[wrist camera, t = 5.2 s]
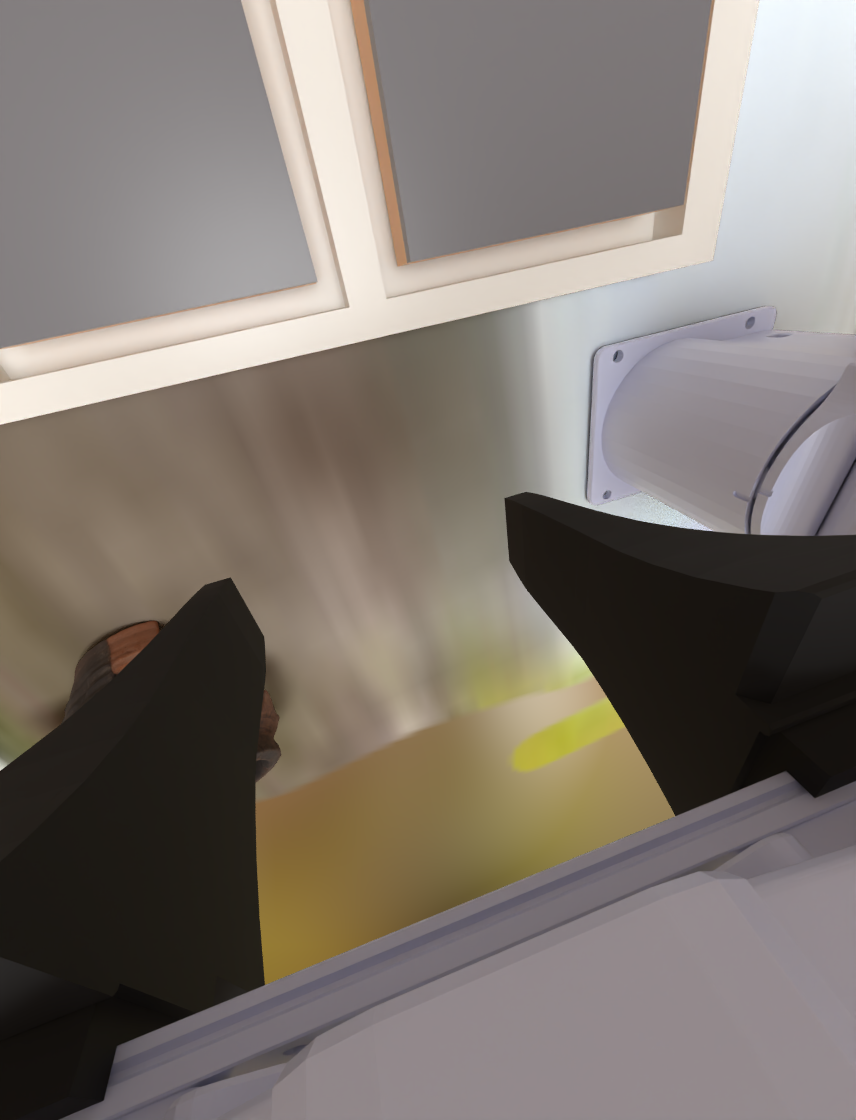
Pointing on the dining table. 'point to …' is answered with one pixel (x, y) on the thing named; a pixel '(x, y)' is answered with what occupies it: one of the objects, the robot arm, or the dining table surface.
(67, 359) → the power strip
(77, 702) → the brown grey irregular piece
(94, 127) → the middle button
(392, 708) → the dining table surface
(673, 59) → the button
